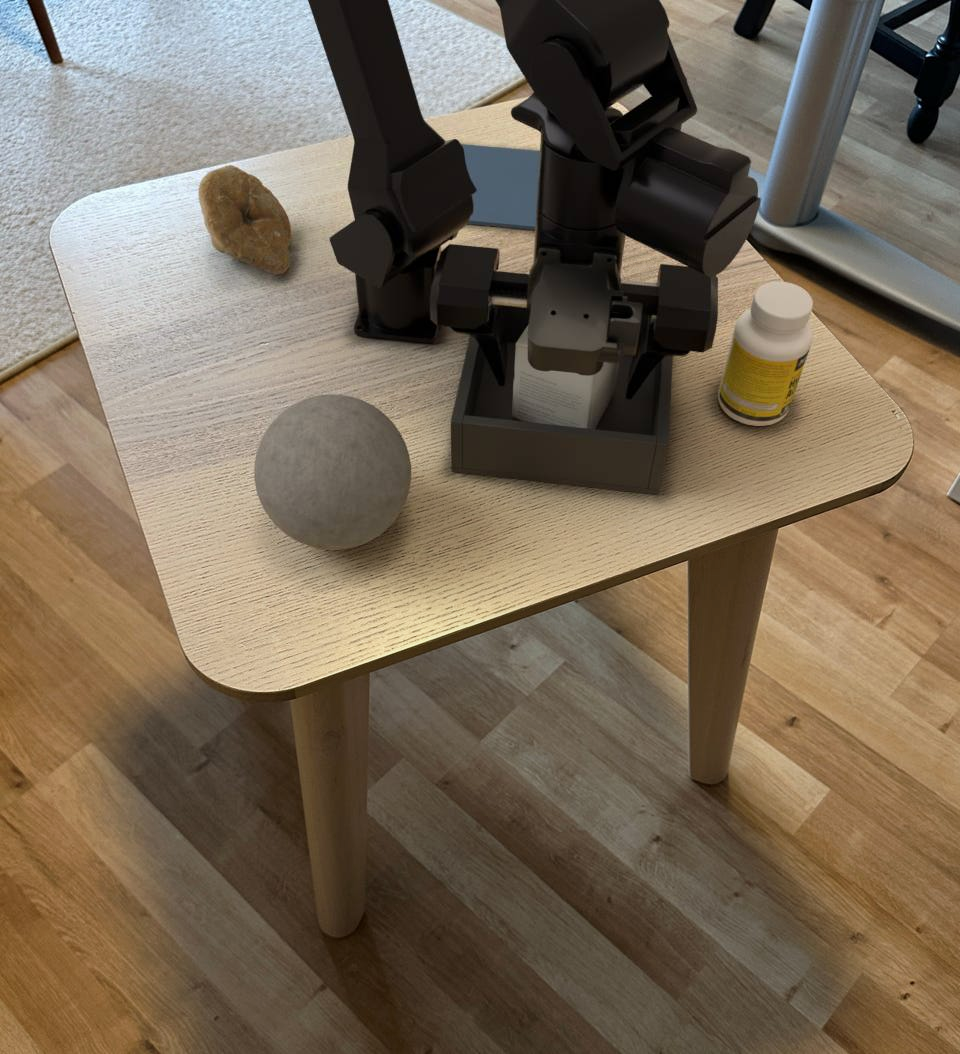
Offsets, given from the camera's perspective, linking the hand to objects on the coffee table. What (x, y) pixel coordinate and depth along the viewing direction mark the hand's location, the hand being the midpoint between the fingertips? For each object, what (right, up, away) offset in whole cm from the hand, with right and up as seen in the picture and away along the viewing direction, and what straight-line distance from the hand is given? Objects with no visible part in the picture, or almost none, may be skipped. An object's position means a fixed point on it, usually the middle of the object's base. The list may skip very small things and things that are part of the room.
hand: (565, 388), depth 79 cm
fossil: (-26, +13, +14) cm, 32 cm away
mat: (-3, +21, +20) cm, 29 cm away
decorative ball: (-16, -10, -5) cm, 19 cm away
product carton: (0, -1, +1) cm, 2 cm away
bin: (0, -1, +2) cm, 2 cm away
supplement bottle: (+14, -1, +3) cm, 14 cm away
